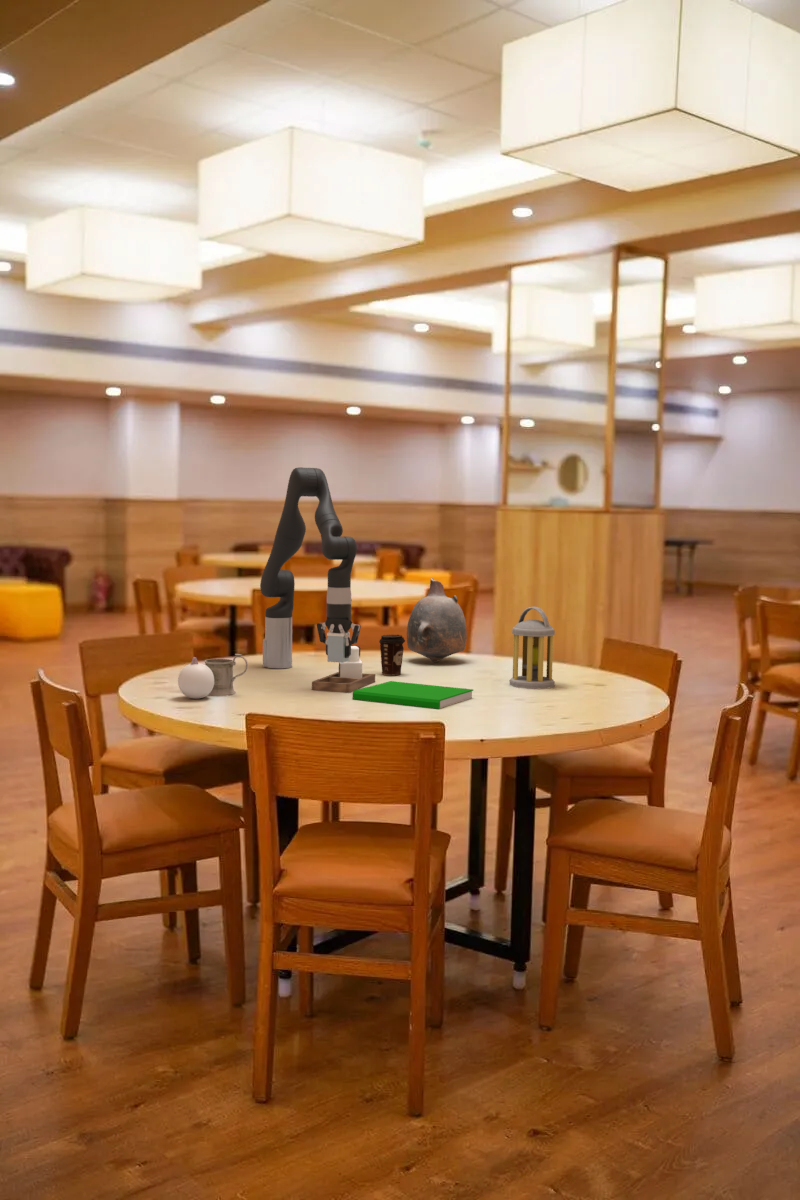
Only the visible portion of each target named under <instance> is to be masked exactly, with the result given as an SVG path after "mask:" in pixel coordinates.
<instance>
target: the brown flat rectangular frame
mask: <svg viewBox="0 0 800 1200" xmlns="http://www.w3.org/2000/svg"><path fill="white" fill-rule="evenodd" d="M373 683H376V673H368V672H367V673H365V672H364V673H363V672H362V678H360V679H359V678H344V677H339V671H336V672H334V673H332V674H331V673H330V674H329V675H325V676H324V677H321V678H319V679H316V680H313V681H311V691H324V692H334V693H335V692H337V693H348V694H349V693H353V691H354V690H358V689H362V688H365V687H368V686H369V685H371V684H373Z"/></svg>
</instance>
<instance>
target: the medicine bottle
mask: <svg viewBox="0 0 800 1200" xmlns="http://www.w3.org/2000/svg"><path fill="white" fill-rule="evenodd" d="M338 672H339V677H344V678H359V679H360V678H362V673H363V661H362V659H361V647H360V645H359V646H358V645H355V644H352V645H351V655H350V656H349V661H346V662H343V663H341V662H338Z"/></svg>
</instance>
